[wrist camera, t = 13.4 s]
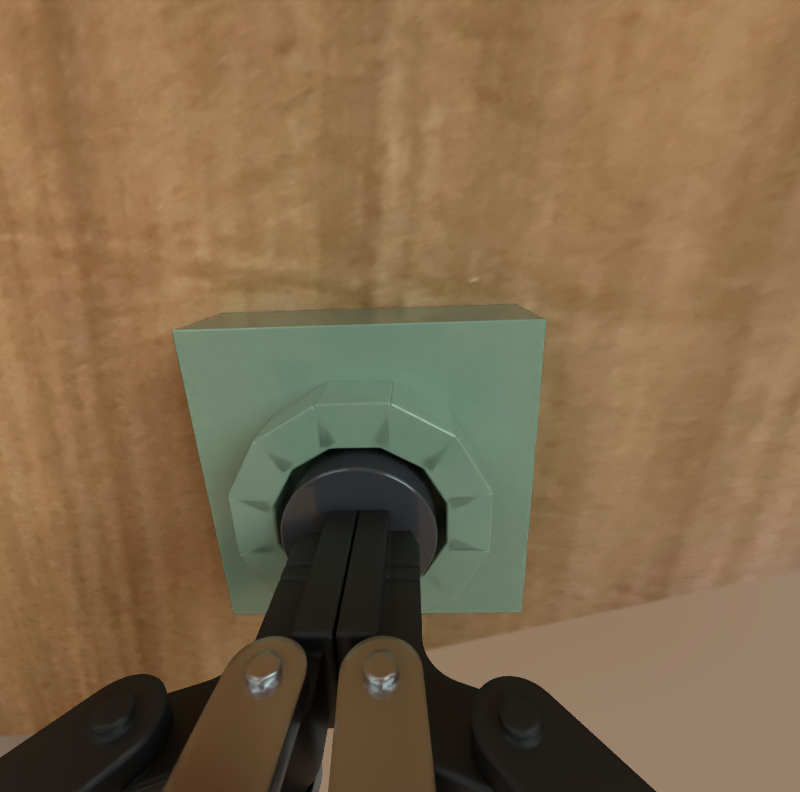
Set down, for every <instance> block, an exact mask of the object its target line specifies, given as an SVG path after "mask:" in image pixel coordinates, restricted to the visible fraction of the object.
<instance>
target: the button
mask: <svg viewBox="0 0 800 792" xmlns="http://www.w3.org/2000/svg"><path fill="white" fill-rule="evenodd" d="M349 510H358V511H359V512H360V510H389V511H390V525H391V531H411V533H412V534H413V536H414V537H415V539H416V541H417V542H418V544H419V550H420V577H421V576H422V574H423V573H424V572H425V571H426V569H427V568H428V566H429V565H430V563H431V561H432V559H433V557H434V554H435V551H436V547H437V541H438V531H437V520H436V510H435V500H434V490H433V484H432V482H431V480H430V479H429V477H428V476H427V474H426V473H425V471H424V470H423V468H421V467H419V466H417V465H415V464H413V463H411V462H409V461H406V460H404V459H402V458H400V457H398V456H396V455H394V454H392V453H390V452H388V451H386V450H384V449H382V448H335V449H328V450H327V451H325V452H323V453H321V454H320V455H318V456H316V457H314V458H313V459H311V460H309V461H308V462H307V463H306V465H305V467H304V469H303V471H302V473H301V475H300V477H299V479H298V481H297V483H296V485H295V488H294V490H293V492H292V494H291V496H290V498H289V500H288V502H287V504H286V507H285V509H284V511H283V515H282V519H281V527H280V531H281V540H282V545H283V548H284V551H285V553H286V556H287V558H288V557H289V554H290V552H291V549H292V547H293V546H294V545H295V544H296V543H297V541H298V540H299V539H300V538H301V537H302V536H303V535H304V534H305V533H306V532H322V530H323V527H324V523H325V520H326V517H327V514H328V512H329V511H349Z"/></svg>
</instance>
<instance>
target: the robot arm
mask: <svg viewBox="0 0 800 792" xmlns="http://www.w3.org/2000/svg"><path fill="white" fill-rule="evenodd" d="M328 728H334V733H333V734H334V735H333V744H332V755H331V766H330V777H329V788H328V792H656V791H655V790H654V789H653V788H652V787H650V786H649V785H648V784H647V783H646V782H645V781H644V780H643V779H642V778H641V777H640V776H638V775H637V774H636V773H635V772H634V771H633V770H632V769H631V768H630V767H629V766H628V765H626V764H625V763H624V762H623V761H622V760H621V759H620V758H619V757H618V756H617V755H616V754H614V753H613V752H612V751H611V750H610V749H609V748H608V747H607V746H606V745H605V744H603V743H602V742H601V741H600V740H599V739H598V738H597V737H596V736H594V734H593V733H591V732H590V731H589V730H588V729H587V728H586V727H585V726H584V725H582V724H581V722H579V721H578V720H577V719H576V718H575V717H574V716H573V715H572V714H571V713H570V712H568V711H567V710H566V709H565V708H564V707H563V706H562V705H561V704H560V703H559V702H558V701H556V700H555V699H554V698H553V697H552V696H551V695H550V694H549V693H548V692H546V691H545V690H544V689H543V688H541V687H540V686H538V685H537V684H535V683H533V682H531V681H529V680H526V679H523V678H520V677H514V676H502V677H498V678H495V679H492V680H490V681H489V682H487V683H486V684H484V685H483V686H482V687H481V688H480V689H478V688H475V687H472V686H469V685H466V684H463V683H460V682H457V681H455V680H453V679H450V678H449V677H447V676H445V675H444V674H442V673H441V672H440V671H439V670H438V669H436V668H435V666H434V665H433V664H432V663H431V661H430V660H429V658H428V657H427V655H426V653H425V650H424V647H423V642H422V619H421V585H420V550H419V544H418V542H417V541H416V539H415V537H414V536H413V534H412V533H411V531H391V525H390V511H389V510H360V512H359V511H358V510H349V511H329V512H328V514H327V517H326V520H325V523H324V527H323V530H322V532H306V533H305V534H304V535H303V536H302V537H301V538H300V539H299V540H298V541H297V543H296V544H295V545H294V546H293V547H292V549H291V552H290V554H289V557H288V559H287V562H286V567H284V569H283V572H282V574H281V577H280V582H278V585H277V587H276V590H275V592H274V595H273V597H272V600H271V602H270V605H269V607H268V610H267V612H266V615H265V617H264V620H263V622H262V625H261V627H260V630H259V632H258V635H257V638H256V640H255V641H254V642H252V643H250V644H249V645H247V646H245V647H244V648H243V649H241V650H240V651H239V652H238V653H237V654H236V655H235V656H234V657H233V658H232V659H231V661H230V662H229V663H228V665H227V666H226V668H225V670H224V672H223V674H222V675H220V676H218V677H216V678H214V679H212V680H209V681H206V682H203V683H200V684H197V685H193V686H190V687H187V688H184V689H180V690H177V691H174V692H171V693H168V694H167V691H166V688H165V686H164V684H163V682H162V681H161V680H160V679H159V678H157V677H155V676H152V675H148V674H138V675H132V676H128V677H124V678H122V679H119V680H117V681H115V682H113V683H111V684H109V685H107V686H105V687H104V688H102V689H101V690H99V691H98V692H96V693H95V694H93V695H92V696H90V697H89V698H87V699H86V700H84V701H83V702H81V703H80V704H78V705H77V706H75V707H74V708H73V709H71V710H70V711H68V712H67V713H65V714H64V715H62V716H61V717H59V718H58V719H56V720H55V721H53V722H52V723H51V724H49V725H48V726H46V727H45V728H43V729H42V730H40V731H39V732H37V733H36V734H34V735H33V736H31V737H30V738H28V739H27V740H26V741H24V742H23V743H21V744H20V745H18V746H17V747H15V748H14V749H12V750H11V751H9V752H8V753H6V754H5V755H4V756H2V757H1V758H0V792H319V788H320V784H321V778H322V758H323V752H324V746H325V741H326V735H327V729H328Z"/></svg>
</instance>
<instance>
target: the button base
mask: <svg viewBox="0 0 800 792" xmlns="http://www.w3.org/2000/svg"><path fill="white" fill-rule="evenodd" d="M545 330H546V319H544V318H542V317H540V316H538V315H536V314H535V313H533V312H531V311H529V310H527V309H525V308H523V307H521V306H519V305H517V304H496V305H464V306H431V307H399V308H366V309H334V310H301V311H269V312H236V313H221V314H218V315H215V316H212V317H209V318H206V319H203V320H201V321H198V322H195V323H192V324H189V325H186V326H183V327H180V328H177V329H175V330H173V331H172V334H173V338H174V343H175V348H176V352H177V357H178V361H179V366H180V371H181V375H182V380H183V384H184V389H185V394H186V398H187V403H188V407H189V412H190V417H191V421H192V426H193V430H194V435H195V440H196V444H197V449H198V453H199V458H200V463H201V467H202V472H203V476H204V481H205V486H206V490H207V495H208V499H209V504H210V509H211V513H212V518H213V522H214V527H215V532H216V536H217V541H218V545H219V550H220V555H221V559H222V564H223V568H224V573H225V578H226V582H227V587H228V591H229V596H230V601H231V605H232V610H233V614H234V615H262V614H266V612H267V610H268V607H269V605H270V602H271V600H272V597H273V595H274V592H275V590H276V587H277V585H278V582H280V577H281V574H282V572H283V569H284V567H286V562H287V559H288V558H287V556H286V553H285V551H284V548H283V545H282V540H281V531H280V527H281V519H282V515H283V511H284V509H285V507H286V504H287V502H288V500H289V498H290V496H291V494H292V492H293V490H294V488H295V485H296V483H297V481H298V479H299V477H300V475H301V473H302V471H303V469H304V467H305V465H306V463H307V462H308V461H309V460H311V459H313V458H314V457H316V456H318V455H320V454H321V453H323V452H325V451H327V450H328V449H335V448H382V449H384V450H386V451H388V452H390V453H392V454H394V455H396V456H398V457H400V458H402V459H404V460H406V461H409V462H411V463H413V464H415V465H417V466H419V467H421V468H423V470H424V471H425V473H426V474H427V476H428V477H429V479H430V480H431V482H432V484H433V490H434V500H435V510H436V520H437V531H438V541H437V547H436V551H435V554H434V557H433V559H432V561H431V563H430V565H429V566H428V568H427V569H426V571H425V572H424V573H423V574H422V576H421V577H420V585H421V614H422V613H521V612H522V604H523V592H524V580H525V568H526V556H527V544H528V533H529V521H530V509H531V497H532V485H533V473H534V461H535V449H536V437H537V425H538V413H539V402H540V390H541V378H542V366H543V354H544V342H545Z"/></svg>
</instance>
